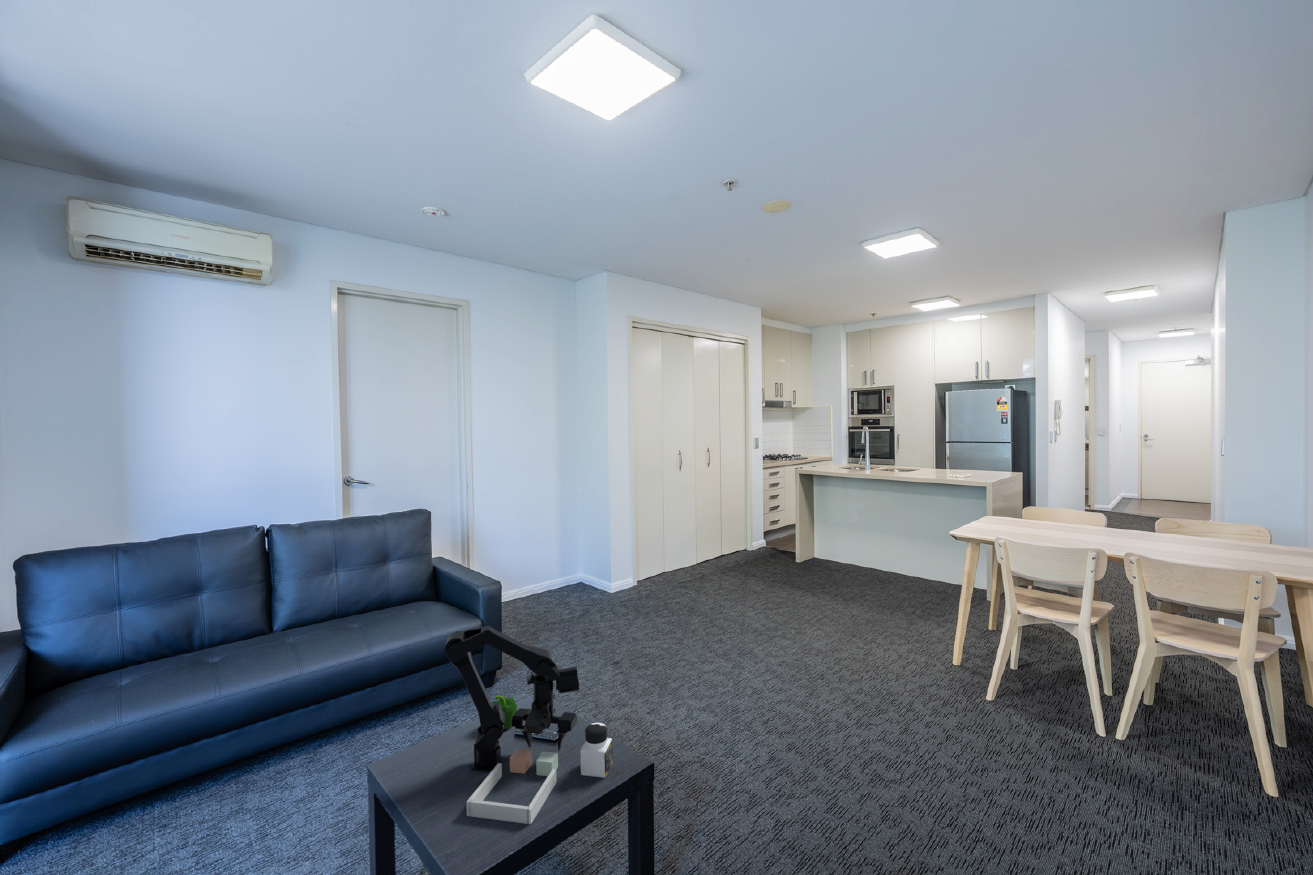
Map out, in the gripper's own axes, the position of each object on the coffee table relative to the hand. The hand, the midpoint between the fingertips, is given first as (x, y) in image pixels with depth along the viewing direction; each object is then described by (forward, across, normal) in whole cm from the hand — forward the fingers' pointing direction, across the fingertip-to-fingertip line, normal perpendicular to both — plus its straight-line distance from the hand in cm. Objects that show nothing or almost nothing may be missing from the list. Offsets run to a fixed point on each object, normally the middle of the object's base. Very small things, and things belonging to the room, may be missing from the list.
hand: (544, 748), depth 159 cm
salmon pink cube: (+2, -4, -8) cm, 9 cm away
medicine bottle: (+2, +18, -4) cm, 18 cm away
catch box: (+2, 0, -20) cm, 20 cm away
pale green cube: (+2, +4, -8) cm, 9 cm away
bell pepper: (+2, -20, +12) cm, 23 cm away
